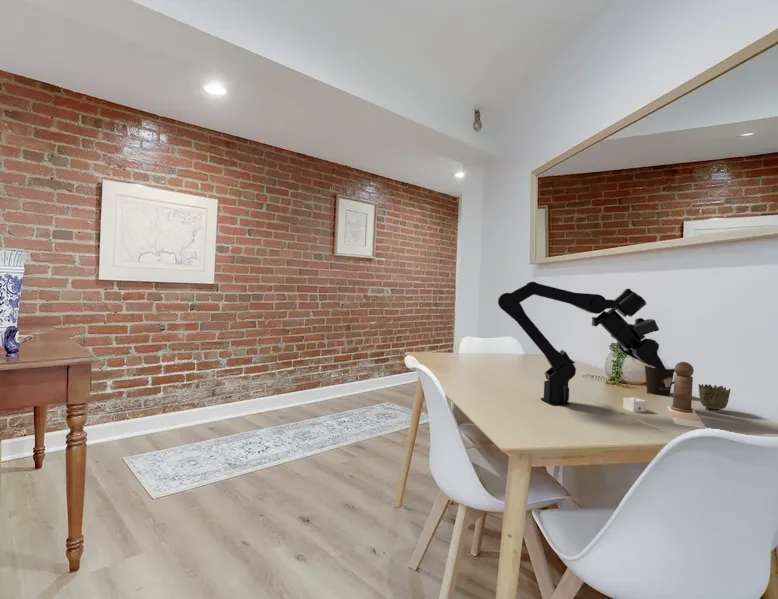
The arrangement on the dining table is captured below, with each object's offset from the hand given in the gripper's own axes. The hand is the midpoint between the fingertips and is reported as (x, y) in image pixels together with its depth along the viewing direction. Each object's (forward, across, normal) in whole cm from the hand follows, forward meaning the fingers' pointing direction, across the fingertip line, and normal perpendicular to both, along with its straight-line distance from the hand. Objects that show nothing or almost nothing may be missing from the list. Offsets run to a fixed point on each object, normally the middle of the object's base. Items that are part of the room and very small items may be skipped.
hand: (657, 367), depth 124 cm
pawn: (+14, 0, +4) cm, 14 cm away
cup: (+21, +3, -2) cm, 21 cm away
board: (+13, -7, +6) cm, 15 cm away
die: (+4, -4, +14) cm, 15 cm away
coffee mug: (+17, +22, +2) cm, 28 cm away
